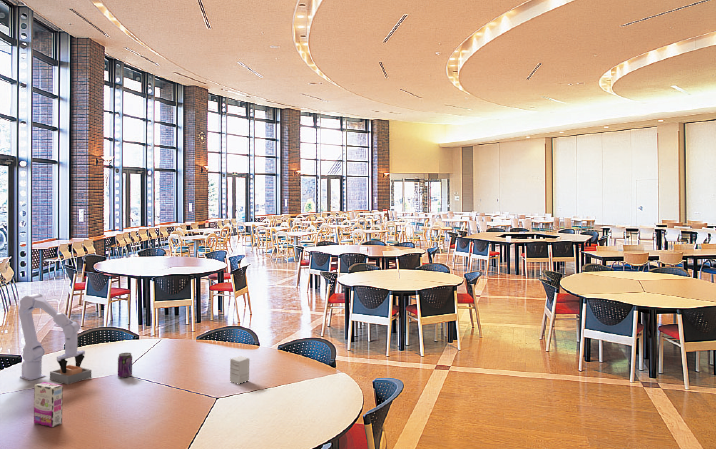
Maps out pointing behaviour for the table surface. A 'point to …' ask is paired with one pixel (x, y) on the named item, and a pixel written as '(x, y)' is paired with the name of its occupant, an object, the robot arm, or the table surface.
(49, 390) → the candy bar box
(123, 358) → the beverage can
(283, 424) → the table surface
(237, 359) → the grey drawer cabinet
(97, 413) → the table surface
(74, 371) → the box
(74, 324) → the robot arm
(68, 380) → the big crate
